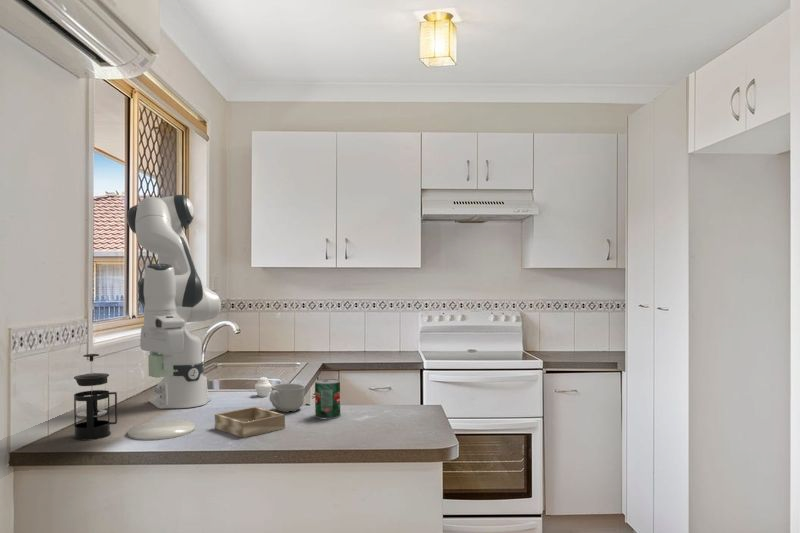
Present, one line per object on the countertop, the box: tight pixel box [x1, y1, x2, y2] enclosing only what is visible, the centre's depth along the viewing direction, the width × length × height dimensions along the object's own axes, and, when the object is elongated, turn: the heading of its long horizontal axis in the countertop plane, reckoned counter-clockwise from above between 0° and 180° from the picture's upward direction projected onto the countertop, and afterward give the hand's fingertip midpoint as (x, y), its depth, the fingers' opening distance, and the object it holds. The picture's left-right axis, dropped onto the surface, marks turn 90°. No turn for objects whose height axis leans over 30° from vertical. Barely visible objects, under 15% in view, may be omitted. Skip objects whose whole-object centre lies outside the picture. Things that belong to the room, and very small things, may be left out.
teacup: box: [269, 383, 306, 413], centre depth 208 cm, size 14×11×8 cm
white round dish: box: [127, 419, 196, 441], centre depth 184 cm, size 18×18×1 cm
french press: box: [73, 353, 118, 441], centre depth 180 cm, size 12×9×23 cm
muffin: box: [254, 376, 273, 398], centre depth 233 cm, size 6×6×7 cm
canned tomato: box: [314, 378, 341, 420], centre depth 201 cm, size 8×8×11 cm
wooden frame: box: [214, 406, 286, 438], centre depth 186 cm, size 16×14×4 cm
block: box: [147, 353, 173, 379], centre depth 184 cm, size 5×5×6 cm
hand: (161, 368), depth 184 cm, fingers closed on block, 5 cm apart
